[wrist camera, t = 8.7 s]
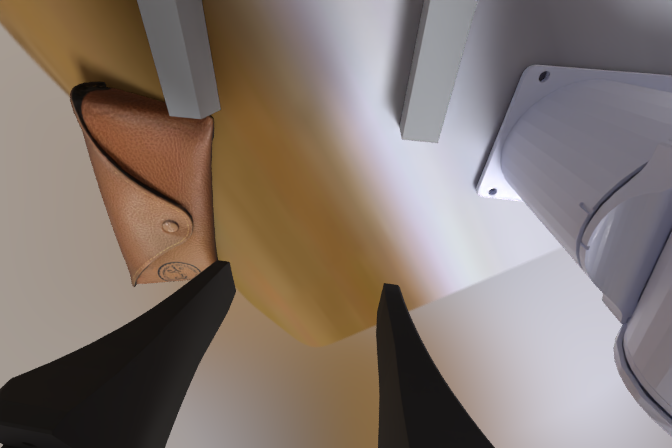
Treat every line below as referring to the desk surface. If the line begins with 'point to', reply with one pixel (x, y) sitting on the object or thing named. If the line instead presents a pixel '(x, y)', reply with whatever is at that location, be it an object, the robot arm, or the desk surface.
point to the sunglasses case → (151, 180)
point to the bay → (199, 79)
